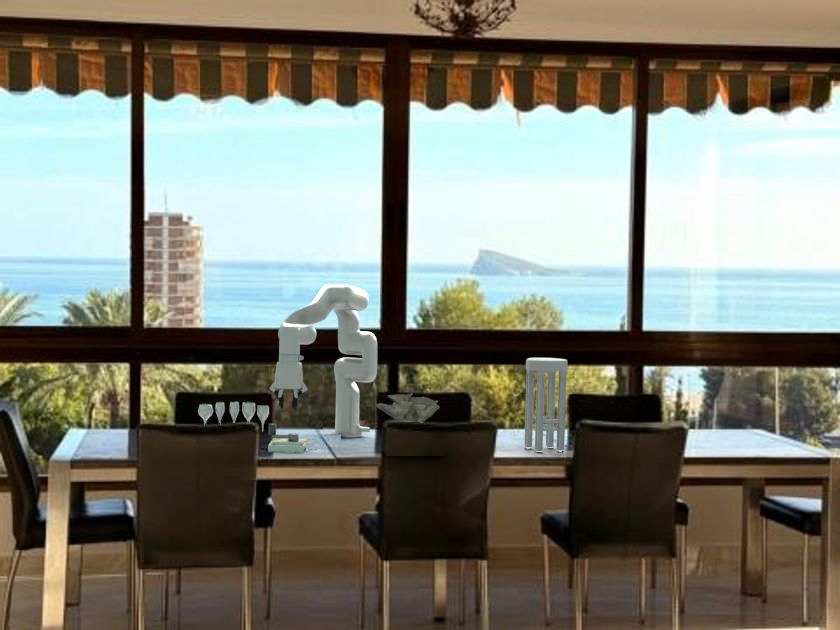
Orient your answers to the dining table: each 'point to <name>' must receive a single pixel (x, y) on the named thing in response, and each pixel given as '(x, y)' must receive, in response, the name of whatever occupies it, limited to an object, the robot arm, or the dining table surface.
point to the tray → (286, 447)
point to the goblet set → (234, 411)
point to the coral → (409, 408)
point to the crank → (290, 437)
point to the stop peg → (288, 400)
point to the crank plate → (287, 440)
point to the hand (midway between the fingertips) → (288, 407)
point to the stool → (551, 367)
